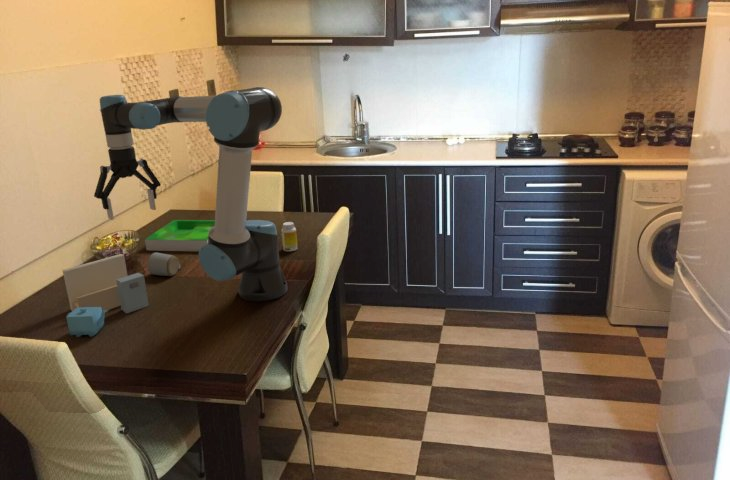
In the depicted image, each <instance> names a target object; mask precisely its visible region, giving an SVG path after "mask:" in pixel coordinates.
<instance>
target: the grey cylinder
mask: <svg viewBox="0 0 730 480" xmlns="http://www.w3.org/2000/svg"><path fill="white" fill-rule="evenodd" d="M179 269H181V264H180V262H179V259H178V257H177V256H175V255H173V254H168V253H161V252H155V251H154V252H152V254H151V255H150V256H149V258H148V261H147V270H148V272H149V274H150V275H154V276H165V277H172V276H175V275H176V274H177V272H178V271H179Z"/></svg>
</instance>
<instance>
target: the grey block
mask: <svg viewBox="0 0 730 480" xmlns="http://www.w3.org/2000/svg"><path fill="white" fill-rule="evenodd" d="M116 282H117V287H118V293H119V298H120V304H121V306H120V308H121V311H122V310H123V311H122V312H124V313H125V314H129V313H130V314H131V312H132V313H133V312H135V311H138V310H141V309H144V308H146V307H150V304H149V298H148V293H147V286H146V281H145V275H144V274H142V273H140V272H136V273H133V274H130V275H128V276H126V277H122V278H119V279H116Z"/></svg>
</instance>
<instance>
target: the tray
mask: <svg viewBox="0 0 730 480" xmlns="http://www.w3.org/2000/svg"><path fill="white" fill-rule="evenodd" d="M214 226H215V219H209V220H208V219H173V220H172V221H170V222H169V223H167V224H165V225H164V226H162V227H161V228H159V229H158V230H156V231H154V233H152V234H151V235H149V236H148V237H146V238H144V242H145V243H144V244H145V249H146V251H154V252H155V251H160V252H163V251H165V252H199V251H200V249H201V248H202V247H203V246H204V245H205V244H208V235H209V230H210V229H211V228H213V227H214Z"/></svg>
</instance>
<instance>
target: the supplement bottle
mask: <svg viewBox="0 0 730 480" xmlns="http://www.w3.org/2000/svg"><path fill="white" fill-rule="evenodd" d="M280 233H281V242H282V250H283V251H284V252H294V251H297V250H298V248H299V247H298V245H299V244H298V237H297V236H298V235H297V228H296V227H295V224H294V222H292V221H287V222H286V221H285V222H284V223H282V228H281V232H280Z"/></svg>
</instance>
